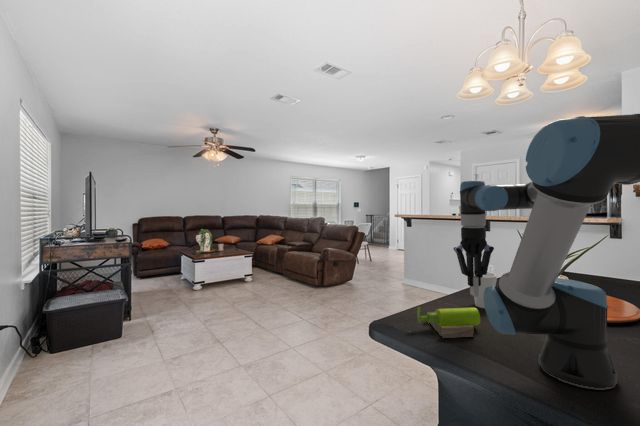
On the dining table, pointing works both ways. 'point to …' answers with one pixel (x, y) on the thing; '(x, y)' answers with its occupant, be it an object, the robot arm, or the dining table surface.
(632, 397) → the dining table surface
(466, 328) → the cradle
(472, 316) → the soap dispenser
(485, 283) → the foam cup
